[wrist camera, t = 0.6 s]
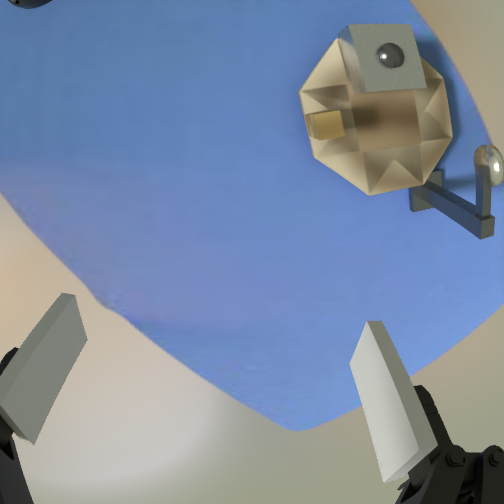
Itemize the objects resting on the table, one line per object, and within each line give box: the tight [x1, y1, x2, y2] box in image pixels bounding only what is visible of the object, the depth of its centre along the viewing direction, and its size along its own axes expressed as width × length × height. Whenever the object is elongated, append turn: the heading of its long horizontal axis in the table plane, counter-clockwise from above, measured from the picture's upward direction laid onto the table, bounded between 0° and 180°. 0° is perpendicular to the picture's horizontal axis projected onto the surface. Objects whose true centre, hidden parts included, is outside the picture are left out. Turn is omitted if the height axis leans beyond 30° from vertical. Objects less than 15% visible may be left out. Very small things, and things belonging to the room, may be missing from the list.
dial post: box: [409, 145, 504, 240], centre depth 27 cm, size 10×5×15 cm, turn 14°
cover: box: [337, 24, 427, 94], centre depth 23 cm, size 7×7×5 cm
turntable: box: [298, 39, 453, 196], centre depth 27 cm, size 18×18×7 cm
